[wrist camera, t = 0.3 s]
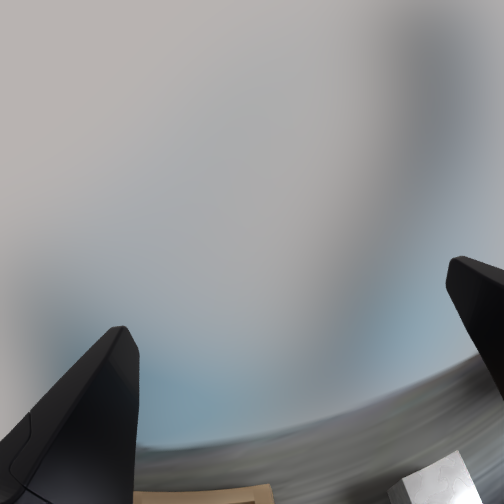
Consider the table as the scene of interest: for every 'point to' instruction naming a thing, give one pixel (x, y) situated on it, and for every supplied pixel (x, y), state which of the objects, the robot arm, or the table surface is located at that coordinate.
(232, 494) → the oak tray
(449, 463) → the steel block
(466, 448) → the table surface
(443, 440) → the table surface
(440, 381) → the table surface
